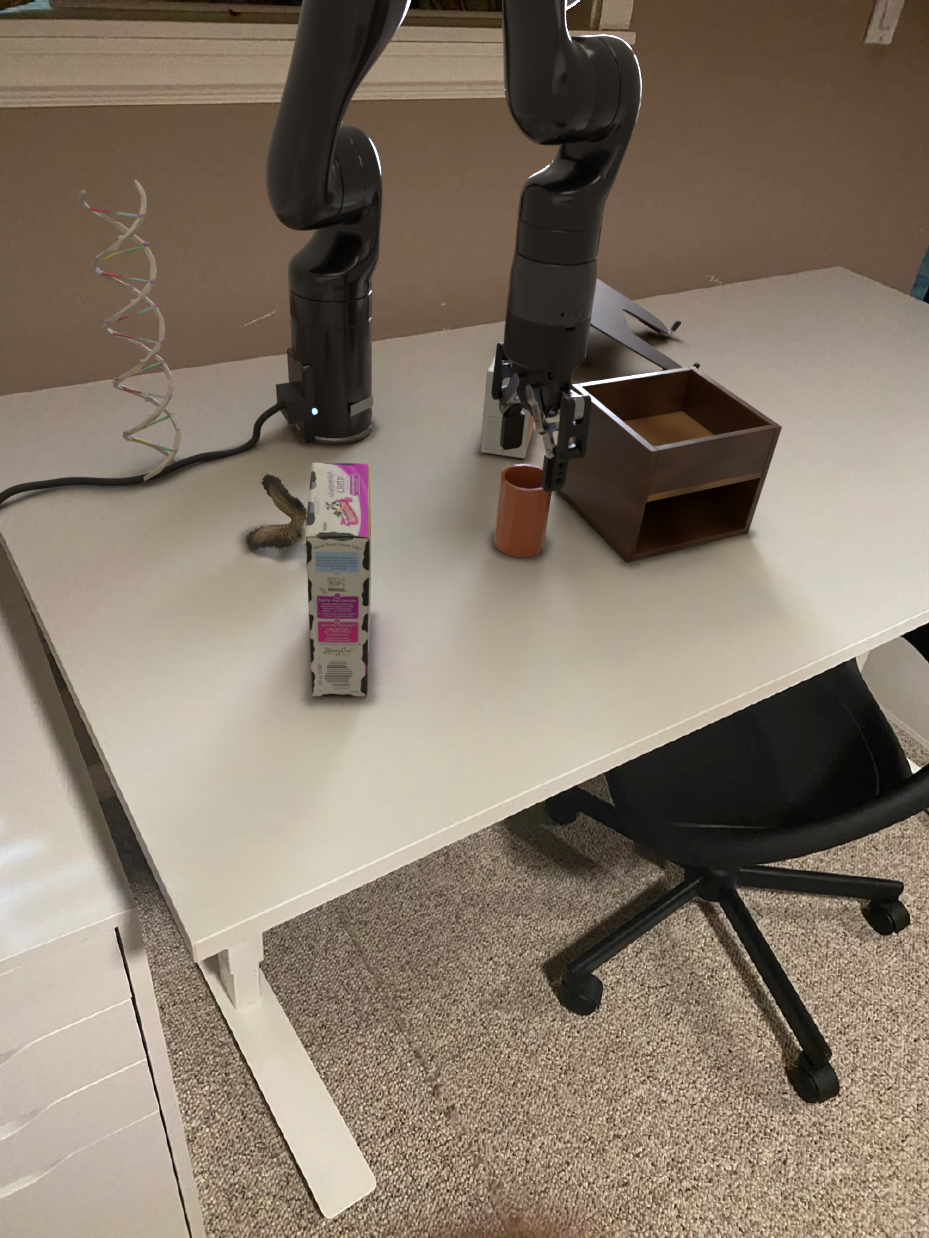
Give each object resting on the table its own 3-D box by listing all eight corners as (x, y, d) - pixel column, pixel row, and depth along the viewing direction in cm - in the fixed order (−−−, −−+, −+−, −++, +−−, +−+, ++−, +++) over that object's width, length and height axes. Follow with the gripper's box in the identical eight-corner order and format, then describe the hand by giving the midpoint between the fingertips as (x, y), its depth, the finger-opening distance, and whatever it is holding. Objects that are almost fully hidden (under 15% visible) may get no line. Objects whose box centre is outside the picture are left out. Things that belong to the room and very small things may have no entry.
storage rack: (626, 562, 94) (651, 451, 86) (555, 490, 105) (571, 384, 96) (748, 533, 100) (782, 426, 92) (669, 467, 110) (693, 365, 102)
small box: (524, 460, 109) (535, 378, 103) (479, 453, 110) (486, 371, 103) (534, 430, 115) (544, 350, 109) (490, 423, 116) (498, 343, 109)
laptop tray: (664, 428, 131) (705, 376, 126) (529, 349, 124) (568, 291, 119) (642, 361, 149) (677, 313, 144) (523, 288, 141) (556, 236, 136)
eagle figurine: (347, 514, 96) (266, 486, 96) (345, 486, 89) (257, 456, 89) (321, 579, 94) (238, 551, 93) (317, 556, 87) (227, 525, 87)
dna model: (161, 452, 105) (116, 171, 86) (200, 471, 103) (162, 185, 83) (114, 474, 101) (54, 183, 82) (153, 494, 98) (101, 199, 79)
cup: (508, 562, 93) (516, 495, 88) (485, 534, 97) (491, 468, 92) (552, 552, 95) (562, 486, 90) (528, 525, 99) (537, 460, 93)
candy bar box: (371, 699, 77) (371, 538, 66) (310, 700, 76) (301, 537, 66) (370, 614, 85) (370, 460, 75) (316, 614, 85) (308, 459, 74)
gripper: (475, 281, 83) (465, 441, 93) (552, 341, 73) (531, 511, 84) (547, 274, 86) (529, 429, 96) (630, 330, 76) (601, 496, 86)
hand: (530, 467), depth 90 cm, fingers open, 8 cm apart
